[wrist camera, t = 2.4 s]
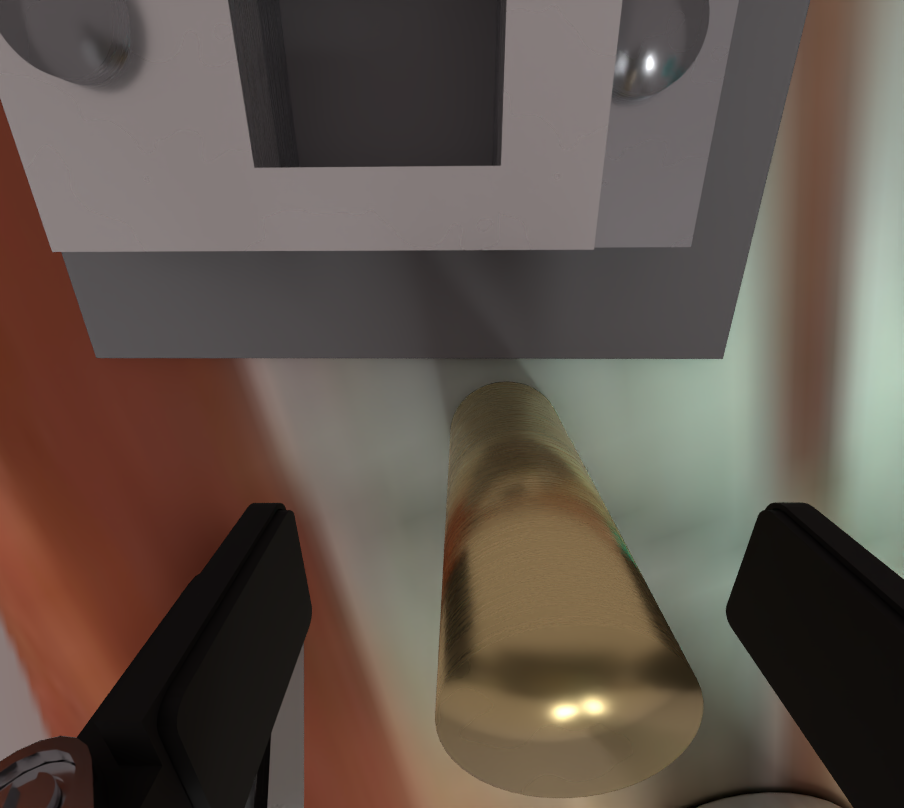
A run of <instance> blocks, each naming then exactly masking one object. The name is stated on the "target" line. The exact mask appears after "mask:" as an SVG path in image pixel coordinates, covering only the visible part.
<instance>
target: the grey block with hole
mask: <svg viewBox="0 0 904 808" xmlns="http://www.w3.org/2000/svg"><path fill="white" fill-rule="evenodd" d="M738 3H739V0H497V14H496V51H495V87H494V124H493V160H492V166H411V167H299V159H298V150H297V142H296V134H295V126H294V118H293V110H292V102H291V94H290V85H289V77H288V69H287V61H286V53H285V45H284V37H283V29H282V20H281V12H280V4H279V0H0V99H1V102H2V105H3V108H4V111H5V114H6V117H7V120H8V122H9V125H10V128H11V131H12V134H13V137H14V140H15V143H16V146H17V149H18V152H19V155H20V158H21V161H22V164H23V167H24V170H25V173H26V176H27V179H28V182H29V185H30V187H31V190H32V193H33V196H34V199H35V202H36V205H37V208H38V211H39V214H40V217H41V220H42V223H43V226H44V229H45V232H46V235H47V238H48V241H49V244H50V247H51V250H52V252H150V251H393V250H594V248H604V247H691V244H692V239H693V234H694V229H695V224H696V219H697V213H698V208H699V203H700V198H701V193H702V188H703V183H704V177H705V172H706V167H707V162H708V157H709V152H710V147H711V141H712V136H713V131H714V126H715V121H716V116H717V111H718V105H719V100H720V95H721V90H722V85H723V80H724V75H725V69H726V64H727V59H728V54H729V49H730V44H731V39H732V34H733V28H734V23H735V18H736V13H737V8H738Z"/></svg>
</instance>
